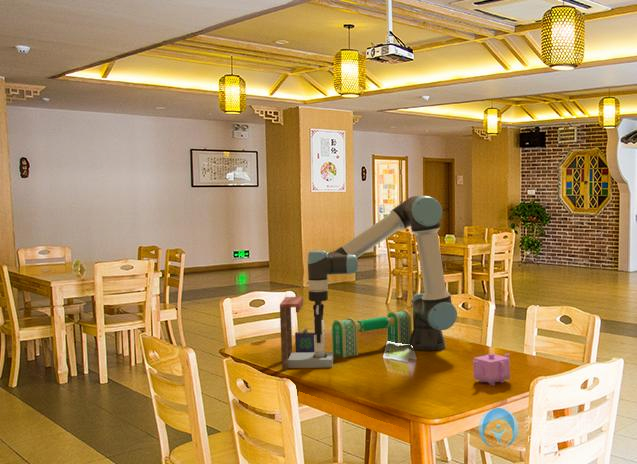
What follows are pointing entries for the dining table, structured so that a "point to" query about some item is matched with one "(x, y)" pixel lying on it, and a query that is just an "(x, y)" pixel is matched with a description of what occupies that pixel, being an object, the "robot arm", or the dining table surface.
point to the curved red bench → (287, 326)
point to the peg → (322, 353)
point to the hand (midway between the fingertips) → (319, 349)
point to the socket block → (310, 360)
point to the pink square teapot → (492, 368)
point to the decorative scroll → (348, 330)
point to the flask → (304, 341)
